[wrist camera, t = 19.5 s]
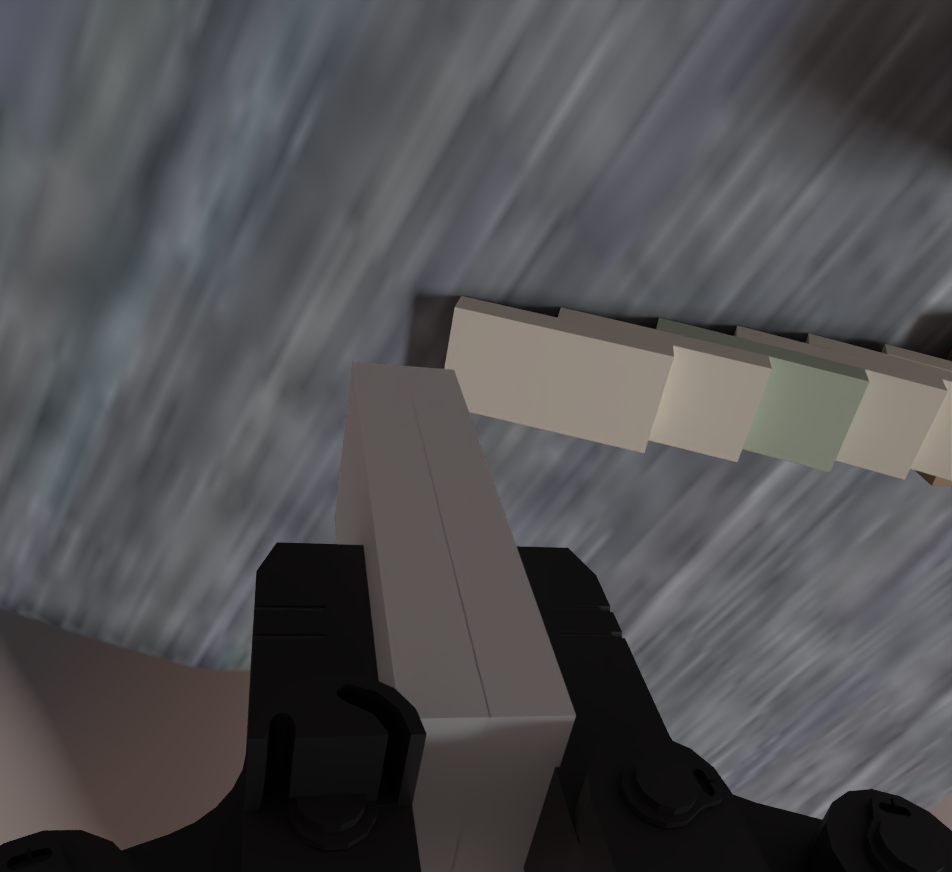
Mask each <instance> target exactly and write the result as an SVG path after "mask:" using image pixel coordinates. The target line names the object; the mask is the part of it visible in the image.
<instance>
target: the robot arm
mask: <svg viewBox="0 0 952 872" xmlns="http://www.w3.org/2000/svg"><path fill="white" fill-rule="evenodd" d="M335 526H336V540H337V544H310V543H276V544H275V546H274V547H273V549H272V550H271V551H270V553H269V554H268V556H267V557H266V559H265V560H264V561H263V563H262V564H261V566H260V567H259V568H258V570H257V573H256V589H255V605H254V622H253V638H252V654H251V671H250V689H249V708H248V725H247V743H246V756H245V762H244V766H243V770H242V772H241V774H240V776H239V778H238V779H237V781H236V784H235V785H234V787H233V789H232V790H231V791H230V792H229V793H228V795H227V796H226V797H225V798H224V799H223V800H222V802H220V803H219V805H218V806H217V807H216V808H214V809H213V810H212V811H210V812H209V813H208V814H206V815H205V816H203V817H202V818H201V819H199V820H198V821H196V822H195V823H193V824H191V825H188V826H186V827H184V828H182V829H180V830H178V831H175V832H173V833H171V834H169V835H166V836H163V837H160V838H157V839H154V840H151V841H148V842H145V843H142V844H139V845H136V846H134V847H131V848H128V849H125V850H122V851H121V850H120V849H119V848H118V847H117V846H116V845H115V844H114V843H113V842H112V841H109V840H107V839H104V838H101V837H99V836H96V835H93V834H90V833H88V832H85V831H82V830H60V831H59V830H52V831H41V832H38V833H34V834H31V835H28V836H25V837H22V838H19V839H16V840H13V841H9V842H7V843H3V844H2V845H0V872H952V831H951V830H950V829H949V828H948V827H946V826H945V825H944V824H943V823H942V822H940V821H939V820H938V819H937V818H936V817H935V816H933V815H932V814H931V813H930V812H928V811H926V810H925V809H923V808H921V807H919V806H917V805H915V804H913V803H912V802H910V801H908V800H906V799H904V798H902V797H900V796H897V795H893V794H889V793H885V792H881V791H877V790H873V789H869V790H858V791H848V792H847V793H845V794H844V795H842V796H841V797H840V798H838V799H837V800H835V801H834V802H832V804H831V806H830V807H829V809H828V811H827V813H826V815H825V816H824V818H823V820H821V819H817V818H813V817H809V816H806V815H802V814H798V813H794V812H790V811H786V810H782V809H778V808H774V807H770V806H767V805H763V804H759V803H755V802H752V801H750V800H747V799H744V798H741V797H738V796H735V795H733V794H732V793H731V791H730V790H729V788H728V787H727V785H726V784H725V783H724V781H723V780H722V778H721V777H720V776H719V774H718V773H717V771H716V770H715V769H714V767H713V766H711V765H710V764H709V763H708V762H706V761H705V760H704V759H703V758H701V757H700V756H699V755H698V754H696V753H695V752H694V751H693V750H691V749H690V748H688V747H685V746H683V745H681V744H679V743H676V742H674V741H672V739H671V737H670V736H669V734H668V732H667V729H666V727H665V725H664V723H663V721H662V718H661V716H660V714H659V712H658V710H657V708H656V705H655V703H654V701H653V699H652V697H651V694H650V692H649V690H648V688H647V686H646V683H645V681H644V679H643V677H642V675H641V673H640V670H639V668H638V666H637V664H636V662H635V659H634V657H633V655H632V653H631V651H630V648H629V646H628V644H627V642H626V640H625V638H622V631H621V629H620V627H619V624H618V622H617V620H616V618H615V616H614V614H613V612H610V605H609V603H608V600H607V598H606V596H605V594H604V592H603V589H602V587H601V585H600V583H599V581H598V579H597V576H596V575H595V574H594V573H593V572H592V571H591V570H590V569H589V568H588V567H587V566H586V565H585V564H584V563H583V562H582V561H581V560H580V559H579V558H578V557H577V556H576V555H575V554H574V553H573V552H572V551H571V550H570V549H569V548H551V547H516V544H515V541H514V538H513V535H512V532H511V530H510V527H509V524H508V521H507V518H506V515H505V513H504V510H503V507H502V504H501V501H500V498H499V496H498V493H497V490H496V487H495V484H494V481H493V479H492V476H491V473H490V470H489V467H488V464H487V462H486V459H485V456H484V453H483V450H482V447H481V445H480V442H479V439H478V436H477V433H476V430H475V427H474V425H473V422H472V419H471V416H470V413H469V410H468V408H467V405H466V402H465V399H464V396H463V393H462V391H461V388H460V385H459V382H458V379H457V376H456V374H455V371H454V370H452V369H439V368H426V367H413V366H400V365H387V364H374V363H362V362H352V369H351V378H350V386H349V395H348V404H347V413H346V422H345V431H344V440H343V449H342V458H341V467H340V476H339V484H338V493H337V502H336V511H335Z"/></svg>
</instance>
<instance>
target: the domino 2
mask: <svg viewBox="0 0 952 872" xmlns="http://www.w3.org/2000/svg"><path fill="white" fill-rule="evenodd" d="M558 318H561V319H566V320H570V321H575V322H579V323H584V324H588V325H592V326H597V327H601V328H606V329H610V330H614V331H619V332H623V333H628V334H632V335H637V336H641V337H645V338H650V339H654V340H659V341H663V342H668V343H672V344H673V349H674V359H673V362H672V365H671V368H670V372H669V375H668V378H667V381H666V385H665V388H664V391H663V394H662V398H661V401H660V404H659V407H658V411H657V414H656V417H655V420H654V424H653V427H652V430H651V433H650V437H649V440H650V441H654V442H658V443H662V444H666V445H670V446H674V447H678V448H682V449H686V450H690V451H694V452H698V453H702V454H706V455H710V456H714V457H719V458H723V459H727V460H731V461H735V462H738V459H739V456H740V454H741V451H742V448H743V446H744V443H745V440H746V438H747V435H748V432H749V430H750V427H751V424H752V422H753V419H754V416H755V413H756V411H757V408H758V405H759V403H760V400H761V397H762V395H763V392H764V389H765V387H766V384H767V381H768V379H769V376H770V373H771V371H772V367H771V363H770V359H769V356H767V355H762V354H758V353H754V352H750V351H745V350H741V349H737V348H733V347H728V346H724V345H720V344H716V343H711V342H707V341H703V340H699V339H694V338H690V337H686V336H682V335H677V334H673V333H669V332H665V331H660V330H656V329H652V328H648V327H643V326H639V325H635V324H631V323H626V322H622V321H618V320H614V319H609V318H605V317H601V316H597V315H592V314H588V313H584V312H580V311H575V310H571V309H567V308H563V307H561V309H560V312H559V315H558Z"/></svg>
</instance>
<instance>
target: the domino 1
mask: <svg viewBox="0 0 952 872" xmlns="http://www.w3.org/2000/svg"><path fill="white" fill-rule="evenodd" d="M673 359H674V349H673V344H672V343H668V342H663V341H659V340H654V339H650V338H645V337H641V336H637V335H632V334H628V333H623V332H619V331H614V330H610V329H606V328H601V327H597V326H592V325H588V324H584V323H579V322H575V321H570V320H566V319H561V318H557V317H553V316H548V315H544V314H539V313H535V312H531V311H526V310H522V309H517V308H513V307H508V306H504V305H500V304H495V303H491V302H486V301H482V300H478V299H473V298H469V297H464V296H461V297H460V299H459V301H458V302H457V304H456V306H455V309H454V315H453V320H452V326H451V332H450V338H449V344H448V350H447V356H446V362H445V368H444V369H452V370H454V371H455V374H456V376H457V379H458V382H459V385H460V388H461V391H462V393H463V396H464V399H465V402H466V405H467V408H468V410H469V412H472V413H476V414H480V415H485V416H489V417H493V418H497V419H502V420H506V421H510V422H514V423H519V424H523V425H527V426H531V427H535V428H540V429H544V430H548V431H552V432H557V433H561V434H565V435H569V436H574V437H578V438H582V439H586V440H591V441H595V442H599V443H603V444H608V445H612V446H616V447H620V448H625V449H629V450H633V451H637V452H641V453H645V449H646V446H647V443H648V440H649V437H650V433H651V430H652V427H653V424H654V420H655V417H656V414H657V411H658V407H659V404H660V401H661V398H662V394H663V391H664V388H665V385H666V381H667V378H668V375H669V372H670V368H671V365H672V362H673Z"/></svg>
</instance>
